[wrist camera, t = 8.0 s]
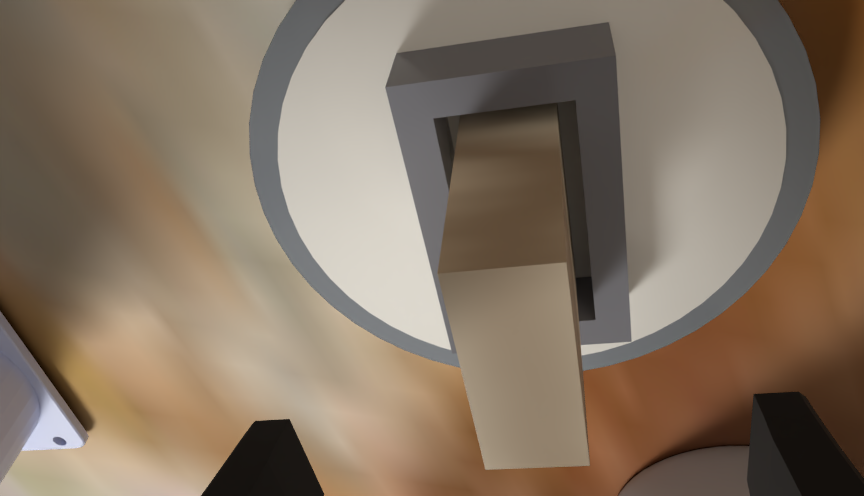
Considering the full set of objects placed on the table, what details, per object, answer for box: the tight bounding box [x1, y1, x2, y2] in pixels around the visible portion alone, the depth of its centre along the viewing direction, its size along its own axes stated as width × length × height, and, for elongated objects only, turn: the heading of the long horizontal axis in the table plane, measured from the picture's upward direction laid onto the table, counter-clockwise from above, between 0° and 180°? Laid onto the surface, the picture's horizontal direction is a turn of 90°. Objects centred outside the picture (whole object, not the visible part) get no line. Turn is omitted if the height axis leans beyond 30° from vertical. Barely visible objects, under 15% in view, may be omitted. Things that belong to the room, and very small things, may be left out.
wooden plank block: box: [437, 103, 590, 470], centre depth 16 cm, size 2×5×6 cm, turn 11°
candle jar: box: [249, 0, 820, 371], centre depth 18 cm, size 13×13×4 cm
